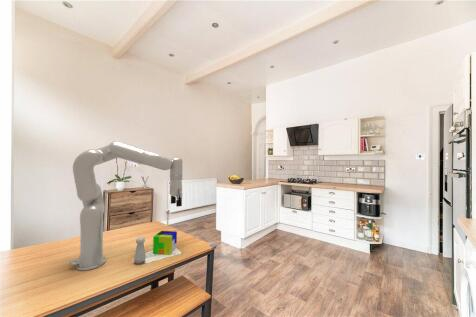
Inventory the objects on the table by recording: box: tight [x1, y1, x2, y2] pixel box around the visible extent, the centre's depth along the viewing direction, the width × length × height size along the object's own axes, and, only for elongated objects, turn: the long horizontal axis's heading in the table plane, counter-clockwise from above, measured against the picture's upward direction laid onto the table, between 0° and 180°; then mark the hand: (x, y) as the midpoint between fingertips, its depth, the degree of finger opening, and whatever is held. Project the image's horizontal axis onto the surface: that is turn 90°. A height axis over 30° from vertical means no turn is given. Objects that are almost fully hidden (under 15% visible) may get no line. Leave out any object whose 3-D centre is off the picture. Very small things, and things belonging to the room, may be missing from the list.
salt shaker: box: [133, 236, 146, 265], centre depth 107 cm, size 6×6×13 cm
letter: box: [143, 248, 182, 264], centre depth 117 cm, size 20×13×1 cm, turn 126°
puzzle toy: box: [152, 230, 178, 255], centre depth 121 cm, size 10×10×10 cm
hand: (176, 204), depth 126 cm, fingers open, 9 cm apart
